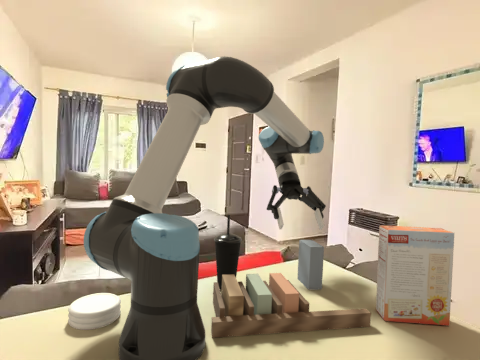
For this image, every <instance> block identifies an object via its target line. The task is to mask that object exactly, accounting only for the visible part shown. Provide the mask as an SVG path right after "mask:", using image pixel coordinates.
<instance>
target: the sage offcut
mask: <svg viewBox="0 0 480 360" xmlns="http://www.w3.org/2000/svg"><path fill="white" fill-rule="evenodd" d="M245 275H246V276H245V289H246V291H247V293H248V295H249V297H250V299H251V301H252V303H253V305H254V315H259V314H271V307H272V294H271V292H270V291H269V289H268V288H267V286H266V285H265V283H264V282H263V281H264V280H263V279H262V277H261V276H260V275H259V273H246V274H245Z"/></svg>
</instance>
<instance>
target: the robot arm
mask: <svg viewBox="0 0 480 360" xmlns="http://www.w3.org/2000/svg"><path fill="white" fill-rule="evenodd" d="M165 90H166V91H167V93H166V99H165V100H166V105H167V108H168V110H167V112H166V114H165V115H164V118H163V119H162V122H161V124H160V125H159V127H158V129H157V131H156V133H155V134H154V137H153V139H152V141H151V142H150V145H149V146H148V148H147V150H146V152H145V154H144V156H143V158H142V159H141V161H140V163H139V165H138V167H137V170H136V171H135V173H134V175H133V177H132V178H131V181H130V182H129V184H128V187H127V188H126V190H125V192H124V193H123V194H122V195H119V196H115V197H114V198H113V199H112V200H111V203H110V204H109V206H108V208H107V210H106V211H104V212H101V213H100V214H98V215H95V216H94V218H92V219H91V220H90V222H89V223H88V224H87V226H86V229H85V231H84V234H83V248H84V251H85V253H86V255H87V257H88V258H89V260H90V261H92V262H93V263H94V264H96V265H97V266H99V268H101V269H103V270H106V271H109V272H112V273H114V274H117V275H119V276H121V277H123V278H125V279H128V280H130V308H129V310H128V314H127V316H126V320H125V322H124V325H123V328H122V329H121V333H120V337H119V341H118V357H119V360H199V358H200V357H201V355H202V354H203V353H204V351H205V349H206V348H205V347H206V329H205V324H204V322H203V319H202V315H201V312H200V308H199V304H198V290H199V289H198V288H199V287H198V285H199V270H200V269H199V268H200V264H199V262H200V251H201V250H200V249H201V248H200V247H201V243H200V233H199V232H200V231H199V228H198V226H197V224H196V223H195V222H194V221H193V220H191V219H190V218H186V217H184V216H181V215H177V214H168V213H163V207H164V205H165V203H166V200H168V197H169V194H170V192H171V190H172V188H173V186H174V184H175V182H176V180H177V177H178V174H179V172H180V171H181V168H182V166H183V165H184V164H183V163H184V162H185V159H186V158H187V155H188V153H189V151H190V149H191V146H193V145H192V144H193V143H194V140H195V138H196V136H197V134H198V131H199V129H200V127H201V126H203V125H207V124H208V123H209V121H210V120H211V118H212V115H213V113H214V111H215V110H216V109H222V108H223V109H224V108H230V107H231V108H239V109H242V110H243V111H245V113H248V114H249V115H250V114H251V115H253V114H254V115H255V116H256V117H258V118H259V119H260V120H261V121H262V122H263V123H265V124H266V125H267V127H265V128H263V129H261V131H260V133H259V134H258V141H259V143H260V144H261V147H262V148H263V149H264V151H265V152H266V154H267V156H268V157H269V158H270V160H271V161H272V163H273V166H274V169H275V173H276V178H277V180H278V185H275V184H274V185H273V187H272V189H271V196H270V199H269V201H268V204H267V207H266V210H267V211H271V213H272V215H273V218H274V220H276V221H277V224H278V229H279V230H283V227H284V225H285V224H284V220H283V216H282V211H281V207H280V206H281V205H282V204H283V203H284V201H286V199H288V200H296V201H297V200H298V201H300V202H302V203H304V204H305V205H307V206H308V207H309V208H310V209H312V211H314V213H313V215H314V217H315V220H316V223H317V226H318V229H319V230H323V228H324V226H325V222H324V217H325V216H324V213H323V212H324V211H325V209H326V207H327V206H326V204H325V203H324V202H323V201H322V200H321V199H320V197H318V196H317V194H316V193H315V192H314V191H313V189H312V188H311V186H309V185H308V186H307V187H303V186H302V184H301V180H300V176H299V173H298V171H297V168H296V165H295V162H294V159H293V156H292V155H294V154H297V155H299V154H304V155H312V154H320V153H321V152H322V151H323V149H324V144H325V139H324V135H323V133H322V131H320V130H310V129H309V128H308V127H307V126H306V124H304V123H303V121H302V120H300V118H299V117H298V116H297V115H296V114H295V113H294V112H293V110H292V109H291V108H290V107H288V105H287V104H286V103H285V102H284V101H283V100H282V99H281V98H280V97H279V95H278V94H277V93H276V92H275V88H274V85H273V83H272V82H271V81H270V79H269V78H268V77H267V76H266V75H265V74H263V73H262V72H261V71H260V70H259V69H257V68H256V67H254V66H253V65H251V64H249V63H248V62H247V61H246V62H245V61H243V60H241V59H239V58H237V57H236V58H235V57H233V56H225V55H224V56H218V57H215V58H211V59H207V60H203V61H199V62H195V63H192V64H191V63H190V64H185V65H183V66H181V67H178V68H176V69H175V70H174V71H172V72H171V74H170V75H169V77H168V78H167V81H166V86H165ZM279 193H281V196H280V197H279V198H278V200H277V201H276V202H275V203H274V200H275V197H276V195H277V194H279ZM273 203H274V204H273Z"/></svg>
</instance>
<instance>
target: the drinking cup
mask: <svg viewBox="0 0 480 360" xmlns="http://www.w3.org/2000/svg"><path fill="white" fill-rule="evenodd" d="M226 223H227V225H226V226H227V227H226V233H221V234H217V236H214V237H213V241H214V242H215V243H214V247H215V264H216V265H215V266H216V282H218V285H219V289H220V291H222V275H229V274H234V275H235V277H236V278H237V274H238V266H239V257H240V249H241V242H242V241H243V239H242V237H241V236H239V235H237V234H234V233H230V230H231V229H230V227H231V215H230V214H228V215H227V222H226Z"/></svg>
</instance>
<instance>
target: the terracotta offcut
mask: <svg viewBox="0 0 480 360" xmlns="http://www.w3.org/2000/svg"><path fill="white" fill-rule="evenodd" d="M268 279H269V280H268V285H269V287H270V288H271V289H272V291H273V292H274V294H275V295H276V297H277V298H278V299H279V301H280V302H281V304H282V313H295V312H298V306H299V293H298V292H297V290H298V289H297V288H296V287H295V286H294V285H293V284H292V283H291V284H292V285H293V286H294V287H295V288H296V289H297V290H296V289H295V288H294V287H293V286H292V285H291V284H290V283H289V281H290V280H289V279H287V278H286V277H285V276H284V274H283V273H282V272H272V273H271V272H269V277H268ZM288 280H289V281H288Z"/></svg>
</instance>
